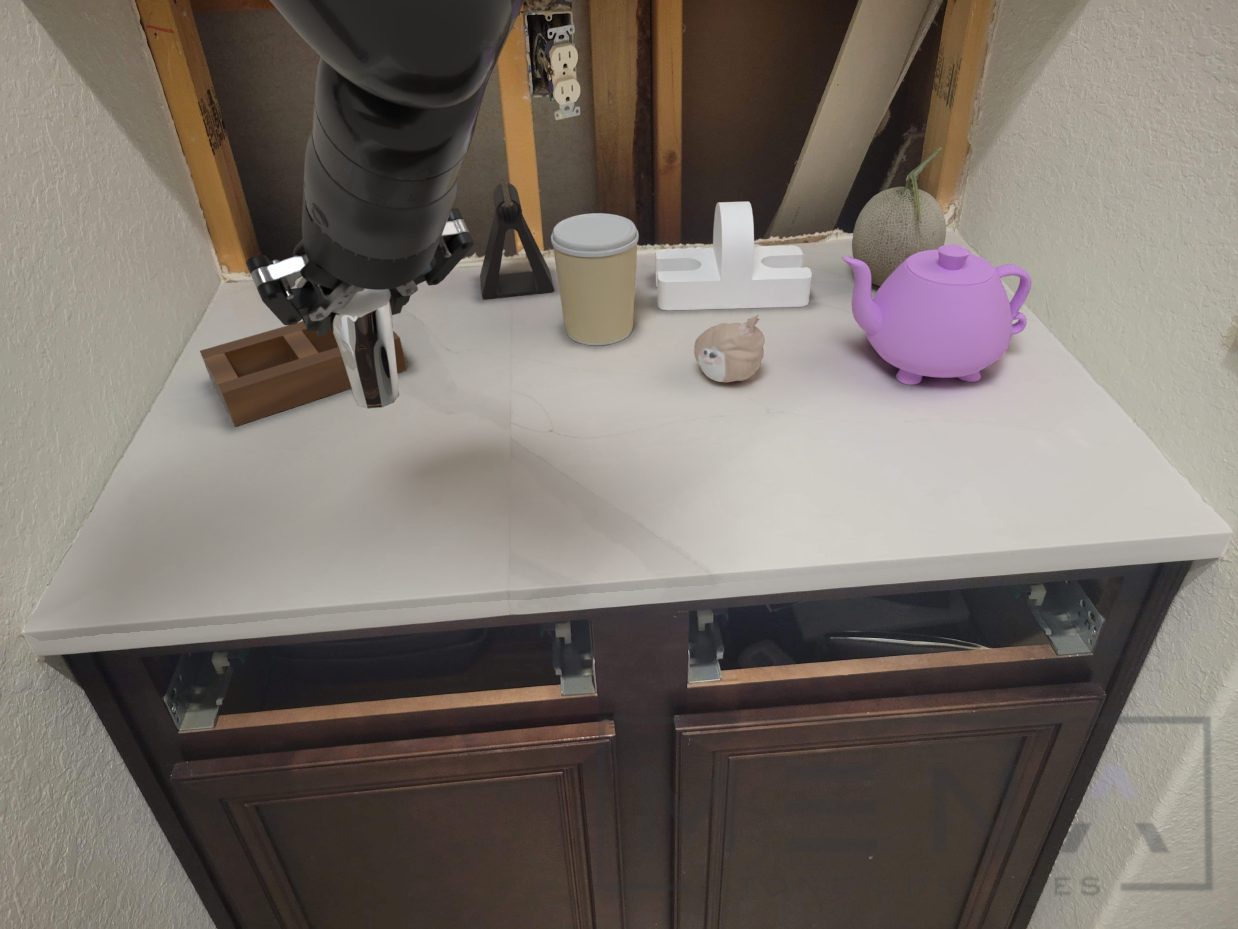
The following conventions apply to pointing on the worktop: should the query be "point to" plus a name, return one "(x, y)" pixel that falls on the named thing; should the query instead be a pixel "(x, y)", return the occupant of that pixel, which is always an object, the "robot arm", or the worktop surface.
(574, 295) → the coffee cup
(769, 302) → the white slotted holder
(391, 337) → the milkshake
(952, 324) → the teapot
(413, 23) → the robot arm
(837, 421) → the worktop surface
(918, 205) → the fruit
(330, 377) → the tray
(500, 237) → the phone stand
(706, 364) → the beige round figure
